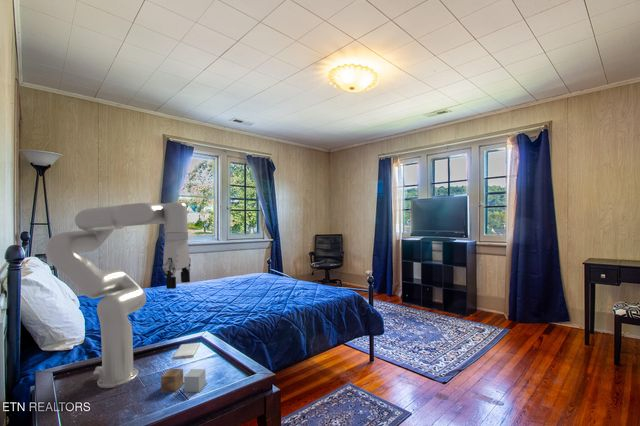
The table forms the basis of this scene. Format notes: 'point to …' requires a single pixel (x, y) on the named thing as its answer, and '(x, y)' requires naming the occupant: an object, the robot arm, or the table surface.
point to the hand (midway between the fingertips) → (178, 285)
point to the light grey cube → (194, 380)
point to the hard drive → (186, 350)
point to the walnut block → (172, 380)
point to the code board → (185, 392)
